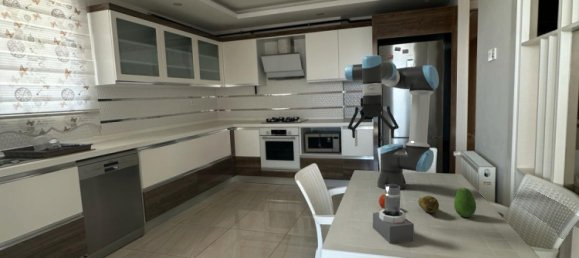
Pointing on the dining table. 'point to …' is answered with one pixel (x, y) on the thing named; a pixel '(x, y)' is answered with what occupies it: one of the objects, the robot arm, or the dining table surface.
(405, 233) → the grey block
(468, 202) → the fruit
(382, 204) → the fruit
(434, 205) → the potato
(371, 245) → the dining table surface
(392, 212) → the lens
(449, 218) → the dining table surface
